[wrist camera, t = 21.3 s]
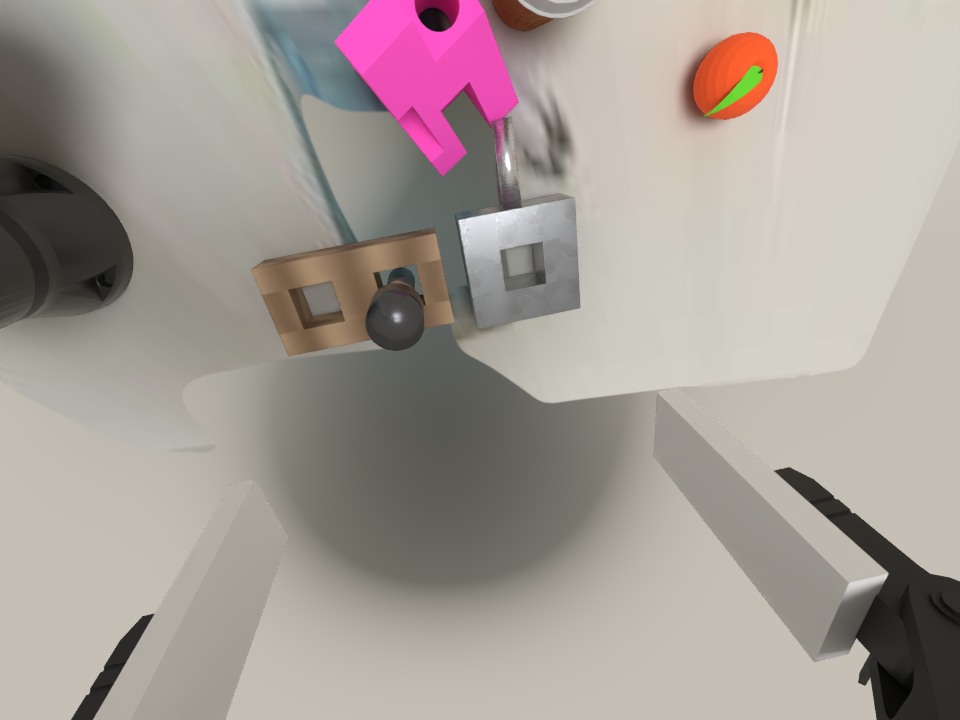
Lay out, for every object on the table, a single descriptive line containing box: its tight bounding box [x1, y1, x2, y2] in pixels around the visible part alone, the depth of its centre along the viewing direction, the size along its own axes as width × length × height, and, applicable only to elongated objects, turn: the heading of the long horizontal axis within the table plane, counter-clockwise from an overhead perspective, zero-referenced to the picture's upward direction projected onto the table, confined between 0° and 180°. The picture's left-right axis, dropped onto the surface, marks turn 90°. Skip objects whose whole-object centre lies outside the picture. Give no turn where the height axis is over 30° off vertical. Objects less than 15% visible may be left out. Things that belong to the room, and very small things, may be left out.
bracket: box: [335, 0, 519, 176], centre depth 35 cm, size 12×10×10 cm
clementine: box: [693, 32, 778, 120], centre depth 39 cm, size 8×7×7 cm
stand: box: [251, 228, 454, 356], centre depth 45 cm, size 19×10×4 cm, turn 99°
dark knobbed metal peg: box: [365, 267, 424, 351], centre depth 41 cm, size 5×5×14 cm
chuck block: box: [455, 117, 580, 329], centre depth 43 cm, size 12×20×5 cm, turn 9°
